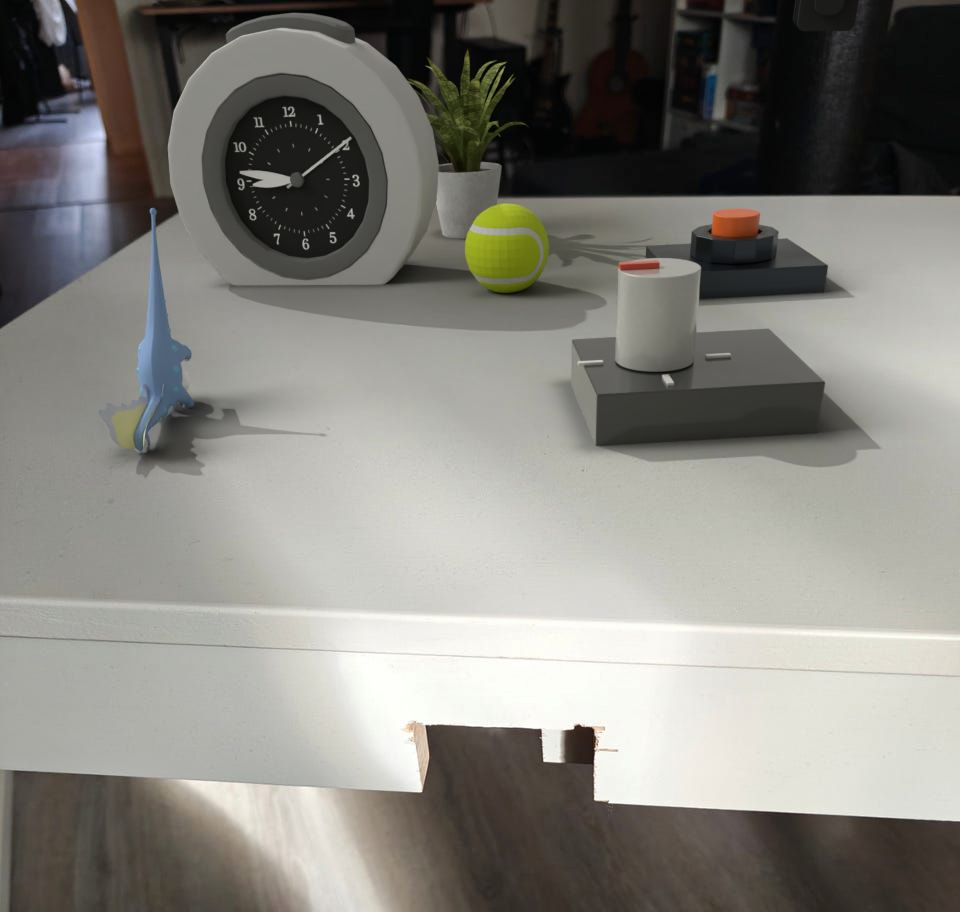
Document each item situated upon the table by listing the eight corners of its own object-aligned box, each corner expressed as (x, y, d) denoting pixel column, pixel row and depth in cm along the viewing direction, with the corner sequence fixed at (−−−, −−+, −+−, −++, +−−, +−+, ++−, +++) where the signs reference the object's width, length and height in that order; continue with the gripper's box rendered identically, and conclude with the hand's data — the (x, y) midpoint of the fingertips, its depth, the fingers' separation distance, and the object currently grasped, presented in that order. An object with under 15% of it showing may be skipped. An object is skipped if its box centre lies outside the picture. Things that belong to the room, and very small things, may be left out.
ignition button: (750, 230, 82) (752, 207, 81) (763, 239, 79) (766, 215, 78) (706, 233, 82) (708, 209, 81) (717, 242, 79) (719, 218, 78)
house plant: (441, 215, 112) (431, 43, 103) (558, 221, 106) (558, 40, 98) (374, 242, 101) (357, 53, 92) (500, 250, 96) (495, 50, 87)
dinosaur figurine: (158, 475, 63) (99, 447, 54) (148, 233, 63) (87, 161, 53) (205, 473, 63) (154, 445, 54) (195, 230, 63) (142, 159, 53)
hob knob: (684, 346, 59) (691, 250, 56) (702, 370, 55) (711, 268, 52) (608, 350, 59) (611, 254, 56) (622, 374, 55) (625, 273, 52)
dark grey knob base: (763, 376, 63) (769, 325, 61) (817, 436, 55) (826, 378, 53) (566, 387, 63) (566, 336, 61) (590, 449, 54) (591, 391, 53)
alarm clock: (189, 287, 88) (138, 20, 78) (219, 267, 95) (176, 17, 84) (430, 286, 85) (412, 8, 75) (444, 265, 92) (430, 6, 81)
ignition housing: (784, 265, 87) (790, 215, 85) (824, 294, 78) (831, 240, 76) (644, 272, 87) (647, 222, 84) (669, 303, 78) (673, 248, 76)
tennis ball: (485, 307, 79) (482, 215, 76) (454, 288, 85) (450, 201, 81) (562, 295, 81) (563, 205, 78) (528, 278, 87) (527, 193, 83)
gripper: (978, -405, 46) (900, 32, 56) (927, -314, 60) (871, 23, 70) (806, -390, 48) (758, 34, 57) (796, -305, 62) (759, 24, 71)
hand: (820, 27), depth 63 cm, fingers open, 9 cm apart
